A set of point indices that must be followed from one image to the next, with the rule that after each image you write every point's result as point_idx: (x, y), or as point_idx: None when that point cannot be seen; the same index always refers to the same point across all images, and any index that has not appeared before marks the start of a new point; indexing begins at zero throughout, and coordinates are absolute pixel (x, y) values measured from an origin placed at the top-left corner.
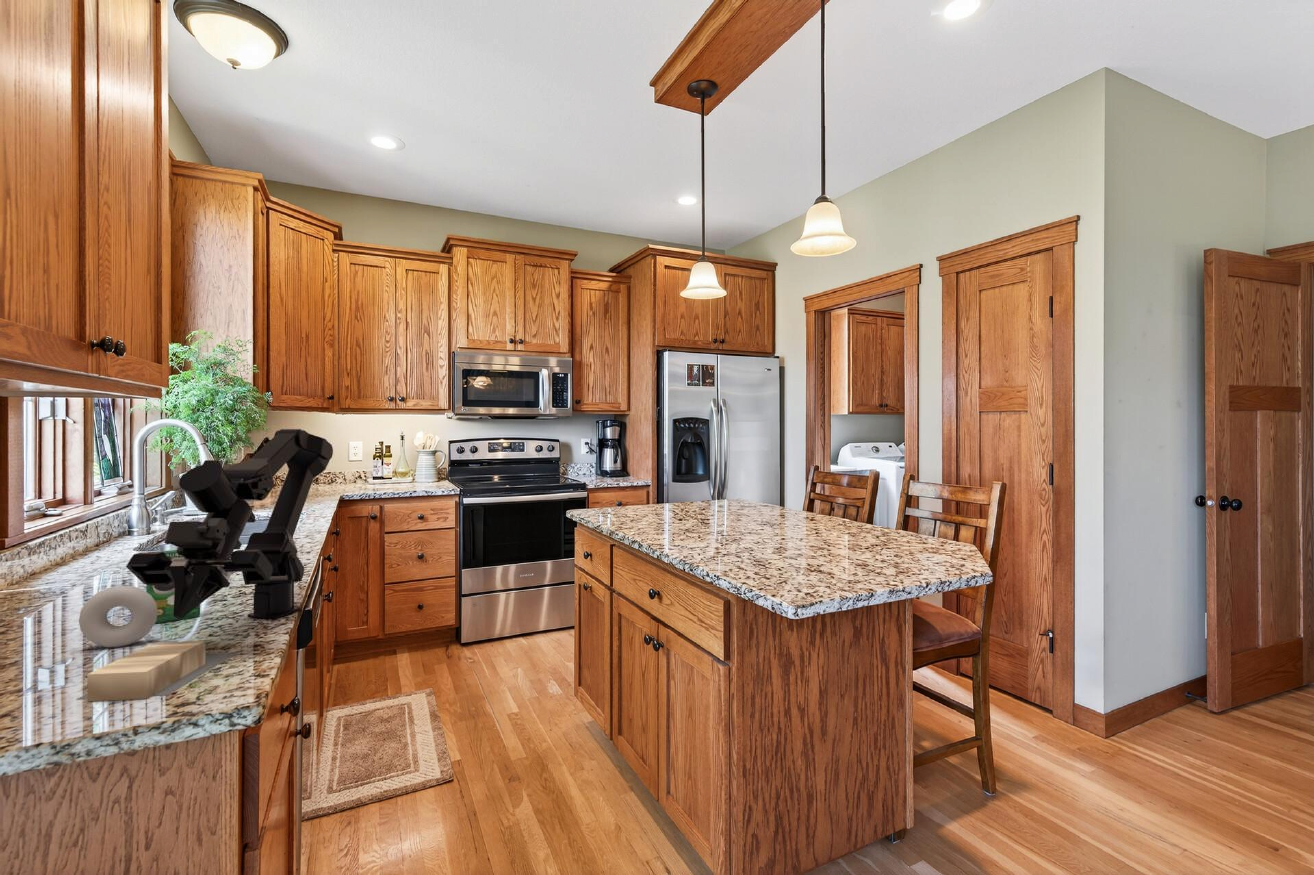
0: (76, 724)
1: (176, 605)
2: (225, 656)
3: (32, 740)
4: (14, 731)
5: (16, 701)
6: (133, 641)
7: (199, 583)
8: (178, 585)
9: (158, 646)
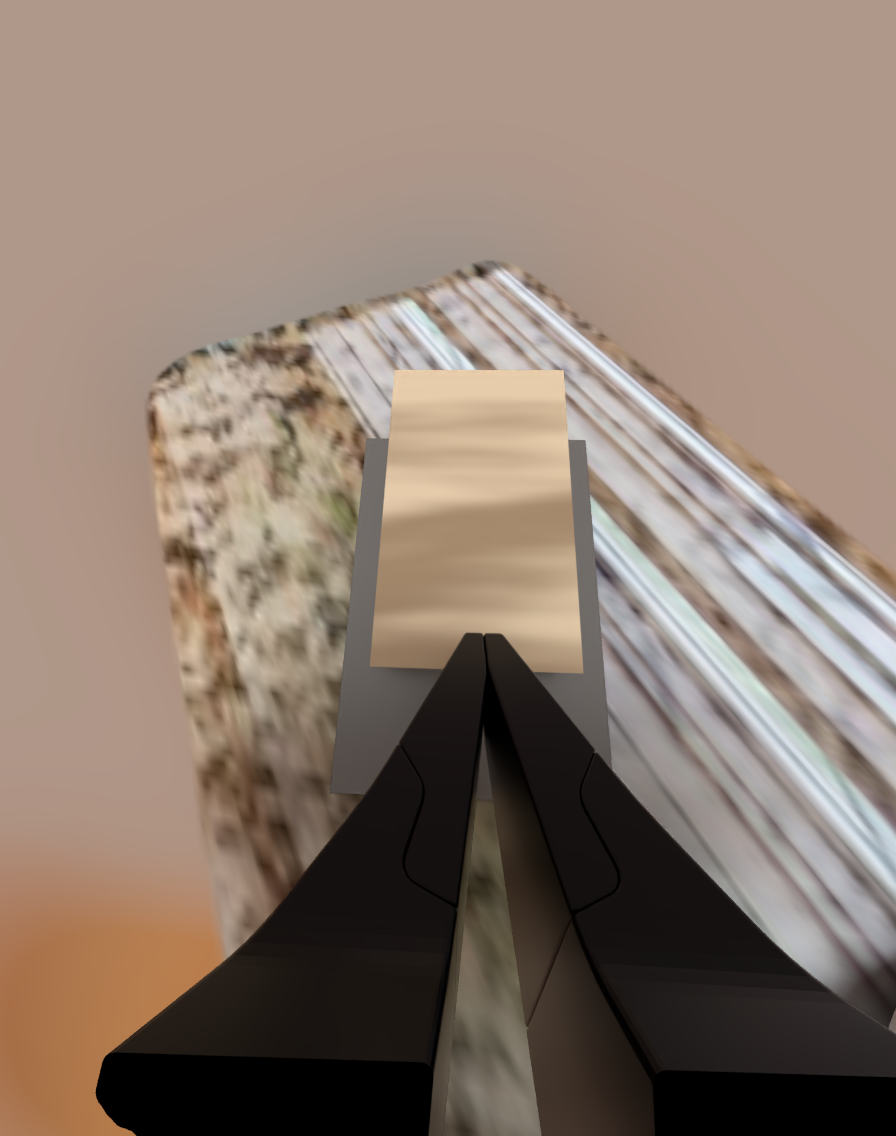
0: (477, 334)
1: (509, 666)
2: (357, 743)
3: (507, 285)
4: (580, 319)
5: (744, 459)
6: (894, 1012)
7: (334, 866)
8: (626, 847)
9: (526, 612)
